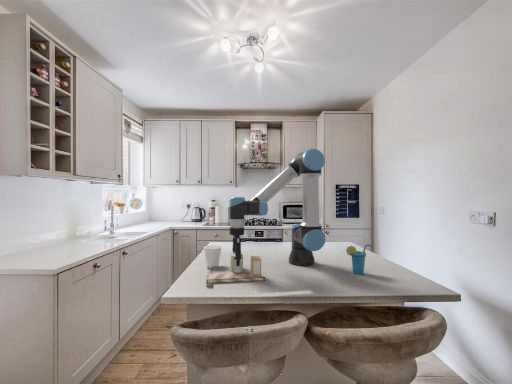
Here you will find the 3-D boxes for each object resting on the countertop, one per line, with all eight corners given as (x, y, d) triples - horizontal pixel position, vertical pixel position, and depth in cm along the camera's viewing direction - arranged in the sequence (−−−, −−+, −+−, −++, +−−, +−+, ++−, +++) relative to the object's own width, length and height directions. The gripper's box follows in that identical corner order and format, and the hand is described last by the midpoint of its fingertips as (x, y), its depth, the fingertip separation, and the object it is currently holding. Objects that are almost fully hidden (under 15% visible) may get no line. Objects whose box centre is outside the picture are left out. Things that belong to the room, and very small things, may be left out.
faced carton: (258, 274, 128) (258, 255, 128) (261, 278, 122) (261, 259, 122) (250, 274, 128) (250, 256, 128) (252, 278, 122) (252, 259, 122)
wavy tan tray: (259, 275, 131) (259, 269, 131) (264, 283, 119) (264, 277, 119) (206, 277, 126) (206, 271, 126) (206, 286, 115) (206, 279, 115)
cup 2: (368, 270, 141) (368, 242, 141) (376, 275, 133) (376, 245, 133) (343, 271, 139) (343, 243, 139) (350, 276, 131) (351, 246, 131)
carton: (230, 271, 136) (230, 254, 136) (242, 271, 137) (242, 253, 138) (231, 274, 132) (231, 256, 133) (243, 273, 134) (243, 255, 134)
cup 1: (218, 270, 139) (218, 249, 139) (200, 268, 141) (200, 248, 141) (224, 265, 149) (224, 245, 149) (207, 263, 151) (207, 244, 151)
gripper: (228, 224, 147) (227, 262, 147) (231, 230, 122) (230, 276, 122) (241, 224, 148) (240, 261, 148) (247, 230, 123) (246, 275, 123)
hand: (236, 268), depth 135 cm, fingers open, 13 cm apart
